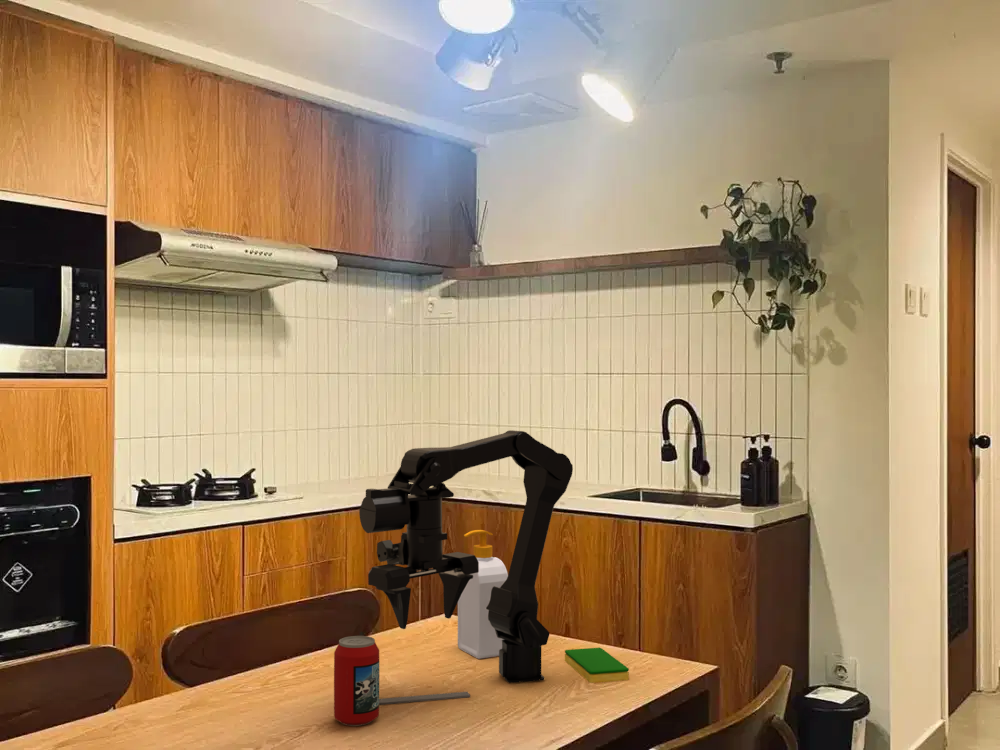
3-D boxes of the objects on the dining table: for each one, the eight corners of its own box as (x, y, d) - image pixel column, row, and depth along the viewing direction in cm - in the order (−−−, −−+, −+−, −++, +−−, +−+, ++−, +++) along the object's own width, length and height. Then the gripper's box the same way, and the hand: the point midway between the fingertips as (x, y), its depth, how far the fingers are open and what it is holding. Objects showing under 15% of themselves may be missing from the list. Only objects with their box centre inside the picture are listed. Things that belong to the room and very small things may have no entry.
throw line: (467, 693, 158) (467, 691, 158) (470, 697, 156) (470, 695, 156) (350, 703, 153) (350, 701, 153) (352, 707, 151) (352, 705, 151)
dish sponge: (590, 685, 164) (590, 671, 164) (564, 662, 177) (564, 649, 177) (629, 682, 165) (629, 668, 165) (600, 660, 179) (600, 646, 179)
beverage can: (370, 729, 141) (370, 647, 141) (326, 726, 143) (327, 645, 143) (385, 714, 148) (385, 635, 148) (343, 711, 149) (343, 633, 149)
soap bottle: (453, 648, 184) (454, 528, 185) (485, 643, 188) (486, 526, 188) (475, 660, 177) (476, 535, 177) (508, 655, 180) (509, 532, 180)
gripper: (438, 515, 168) (439, 604, 168) (347, 528, 156) (349, 624, 156) (480, 522, 160) (481, 616, 160) (388, 536, 147) (390, 638, 147)
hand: (425, 623), depth 156 cm, fingers open, 9 cm apart
